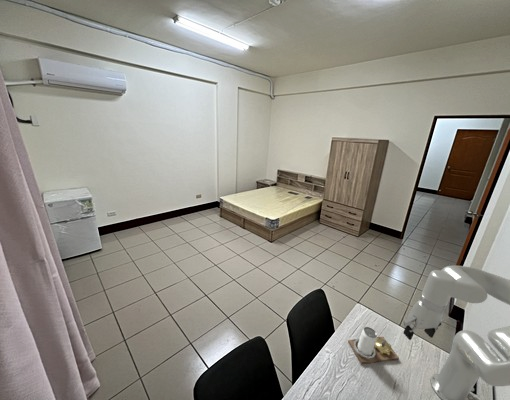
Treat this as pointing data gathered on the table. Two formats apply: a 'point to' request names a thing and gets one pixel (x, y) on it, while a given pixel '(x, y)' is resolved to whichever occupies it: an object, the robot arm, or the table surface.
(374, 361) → the gear board
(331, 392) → the table surface
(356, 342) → the ring
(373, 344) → the can
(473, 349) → the robot arm
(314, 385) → the table surface
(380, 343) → the gear
